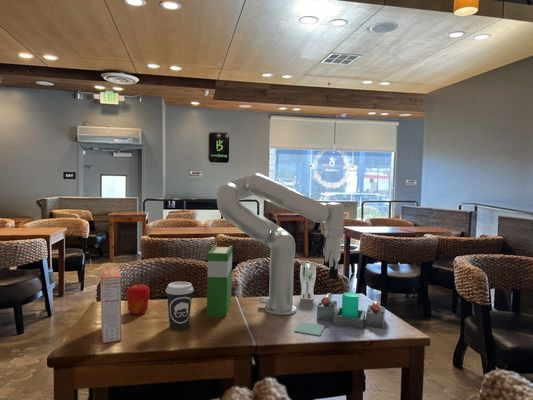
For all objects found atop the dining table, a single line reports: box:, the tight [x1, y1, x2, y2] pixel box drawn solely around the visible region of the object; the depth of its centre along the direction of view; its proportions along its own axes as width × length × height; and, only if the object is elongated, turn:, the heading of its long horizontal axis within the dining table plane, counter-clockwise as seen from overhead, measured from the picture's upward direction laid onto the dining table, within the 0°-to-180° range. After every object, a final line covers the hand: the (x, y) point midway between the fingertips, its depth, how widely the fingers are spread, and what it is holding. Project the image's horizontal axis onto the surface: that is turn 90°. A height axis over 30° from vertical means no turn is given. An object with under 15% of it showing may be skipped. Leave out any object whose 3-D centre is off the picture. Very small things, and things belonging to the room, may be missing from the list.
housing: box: [316, 298, 386, 330], centre depth 143 cm, size 24×13×6 cm, turn 70°
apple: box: [126, 282, 151, 316], centre depth 146 cm, size 9×8×12 cm
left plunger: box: [321, 292, 333, 306], centre depth 148 cm, size 3×8×3 cm, turn 160°
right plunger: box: [371, 298, 381, 313], centre depth 142 cm, size 3×8×3 cm, turn 160°
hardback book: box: [206, 244, 233, 318], centre depth 153 cm, size 18×7×24 cm, turn 179°
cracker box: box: [100, 266, 122, 344], centre depth 126 cm, size 14×6×21 cm, turn 24°
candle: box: [341, 291, 360, 318], centre depth 142 cm, size 6×6×12 cm
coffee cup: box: [165, 281, 195, 332], centre depth 133 cm, size 10×10×15 cm
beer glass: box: [299, 262, 317, 301], centre depth 170 cm, size 7×7×15 cm
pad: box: [293, 321, 326, 337], centre depth 135 cm, size 9×9×1 cm
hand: (333, 278), depth 155 cm, fingers closed
